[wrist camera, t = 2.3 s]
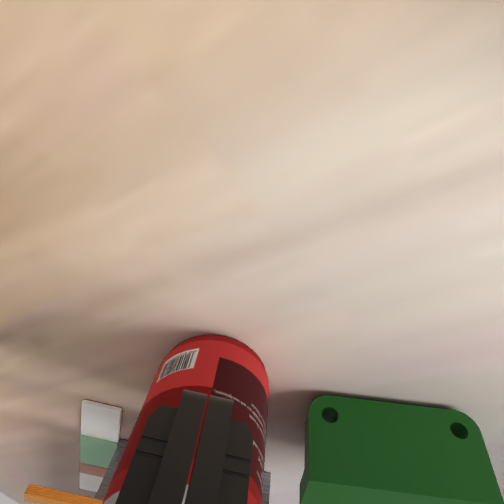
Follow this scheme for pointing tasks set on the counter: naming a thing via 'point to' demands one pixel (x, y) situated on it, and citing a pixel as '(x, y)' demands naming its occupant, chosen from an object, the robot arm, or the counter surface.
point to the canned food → (212, 383)
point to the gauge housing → (115, 462)
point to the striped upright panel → (97, 441)
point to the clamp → (393, 455)
